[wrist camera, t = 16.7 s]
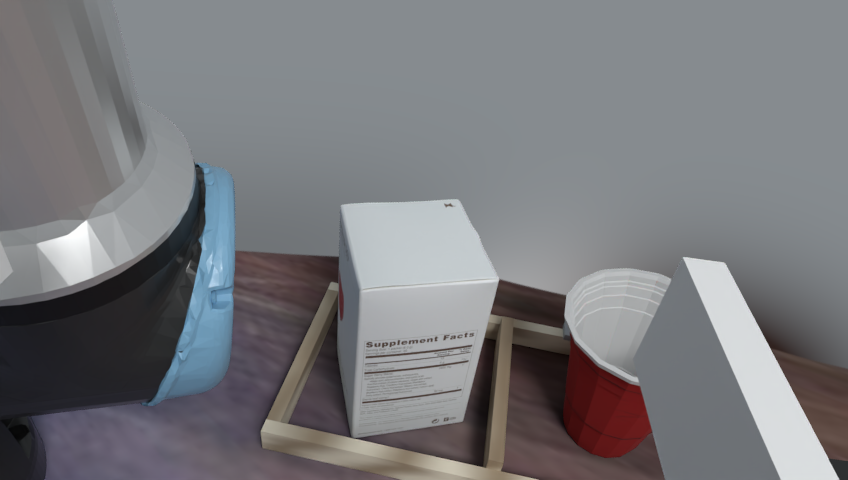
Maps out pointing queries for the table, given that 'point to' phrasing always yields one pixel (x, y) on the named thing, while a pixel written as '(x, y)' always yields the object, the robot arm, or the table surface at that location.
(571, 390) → the plastic cup
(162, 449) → the table surface
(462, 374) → the supplement box
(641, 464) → the table surface
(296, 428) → the wooden frame
